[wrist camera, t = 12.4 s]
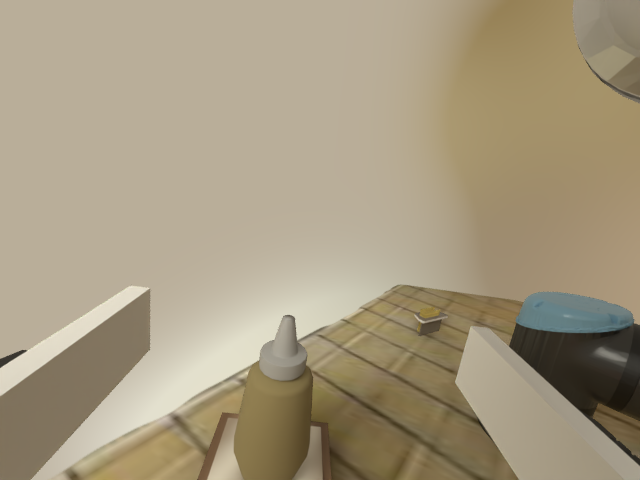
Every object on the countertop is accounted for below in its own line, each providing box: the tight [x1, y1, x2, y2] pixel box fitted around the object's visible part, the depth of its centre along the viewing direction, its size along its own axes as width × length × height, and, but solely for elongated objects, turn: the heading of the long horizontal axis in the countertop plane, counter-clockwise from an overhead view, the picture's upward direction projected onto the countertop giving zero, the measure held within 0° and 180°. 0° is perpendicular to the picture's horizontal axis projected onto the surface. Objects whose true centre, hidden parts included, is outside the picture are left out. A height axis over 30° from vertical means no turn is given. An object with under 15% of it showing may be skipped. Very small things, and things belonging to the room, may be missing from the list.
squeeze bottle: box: [234, 315, 313, 480], centre depth 31 cm, size 8×8×18 cm
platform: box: [415, 307, 448, 336], centre depth 76 cm, size 12×18×7 cm, turn 122°
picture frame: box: [198, 412, 331, 480], centre depth 33 cm, size 14×14×3 cm
